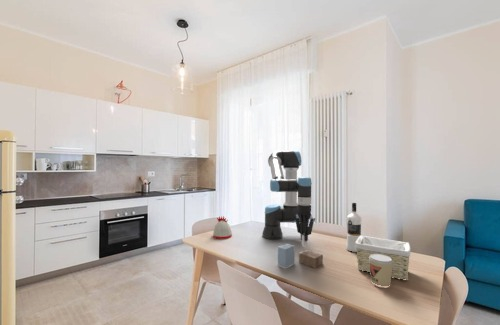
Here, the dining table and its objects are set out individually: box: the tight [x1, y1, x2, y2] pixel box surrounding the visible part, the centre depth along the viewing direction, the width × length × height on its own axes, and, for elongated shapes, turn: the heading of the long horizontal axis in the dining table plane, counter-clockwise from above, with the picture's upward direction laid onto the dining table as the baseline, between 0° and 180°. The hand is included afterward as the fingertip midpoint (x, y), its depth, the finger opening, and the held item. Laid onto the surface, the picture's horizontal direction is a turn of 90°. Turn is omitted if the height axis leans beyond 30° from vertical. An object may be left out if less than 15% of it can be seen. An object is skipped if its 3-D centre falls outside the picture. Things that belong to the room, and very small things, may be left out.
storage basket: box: [355, 234, 411, 280], centre depth 122 cm, size 24×16×15 cm
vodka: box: [345, 202, 362, 253], centre depth 151 cm, size 9×9×30 cm
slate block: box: [277, 243, 296, 269], centre depth 128 cm, size 8×5×10 cm, turn 134°
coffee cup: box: [369, 254, 393, 286], centre depth 108 cm, size 9×9×12 cm
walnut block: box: [298, 249, 324, 269], centre depth 131 cm, size 8×5×10 cm
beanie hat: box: [212, 215, 233, 240], centre depth 178 cm, size 14×14×15 cm
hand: (304, 246), depth 134 cm, fingers closed
